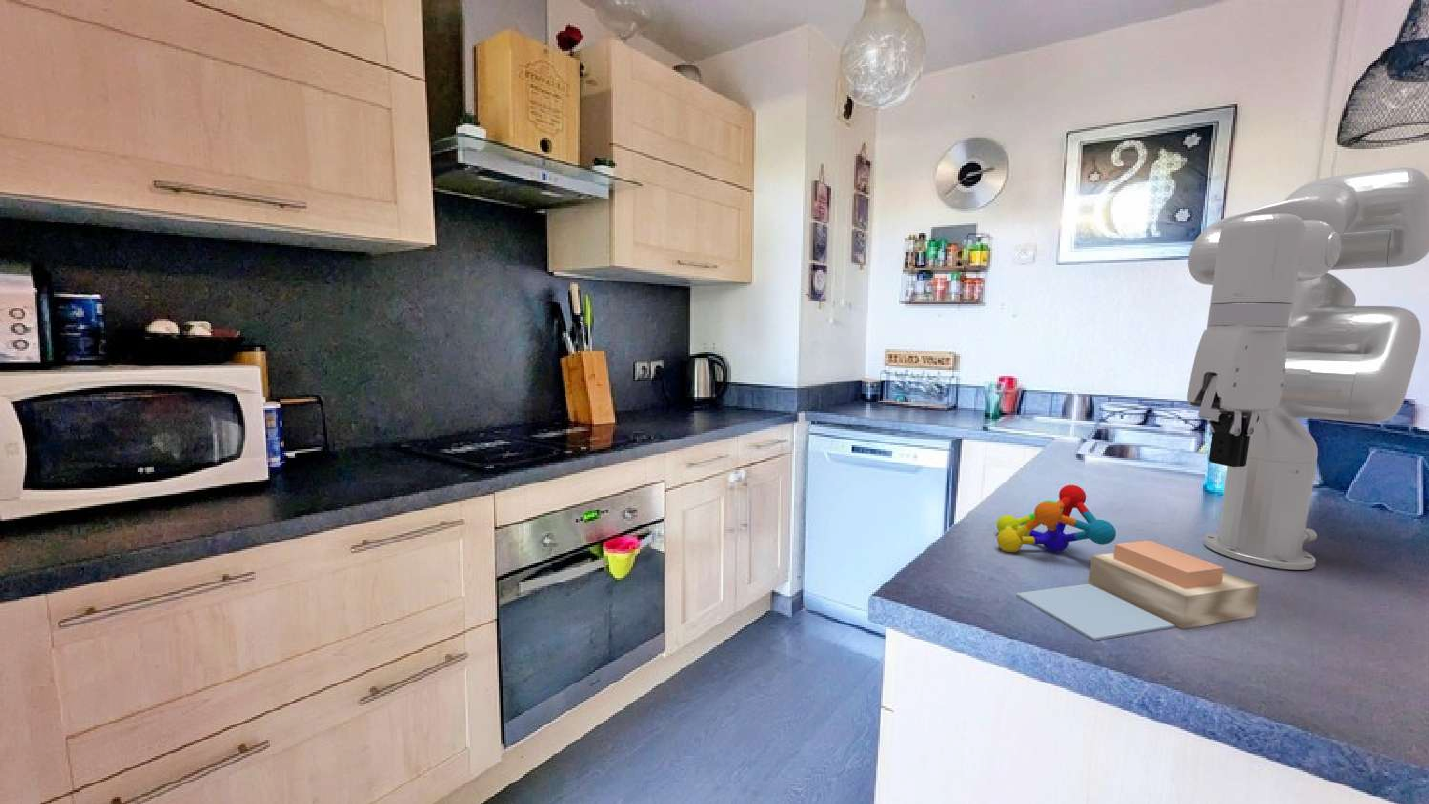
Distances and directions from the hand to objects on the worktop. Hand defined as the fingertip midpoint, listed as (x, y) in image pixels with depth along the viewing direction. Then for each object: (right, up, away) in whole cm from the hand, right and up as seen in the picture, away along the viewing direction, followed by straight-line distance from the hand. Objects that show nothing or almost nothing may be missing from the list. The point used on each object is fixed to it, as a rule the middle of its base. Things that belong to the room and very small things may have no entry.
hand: (1226, 464), depth 72 cm
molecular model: (-14, -15, +17) cm, 27 cm away
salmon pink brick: (-8, -13, 0) cm, 16 cm away
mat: (-19, -18, -3) cm, 26 cm away
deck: (-7, -17, 0) cm, 19 cm away
